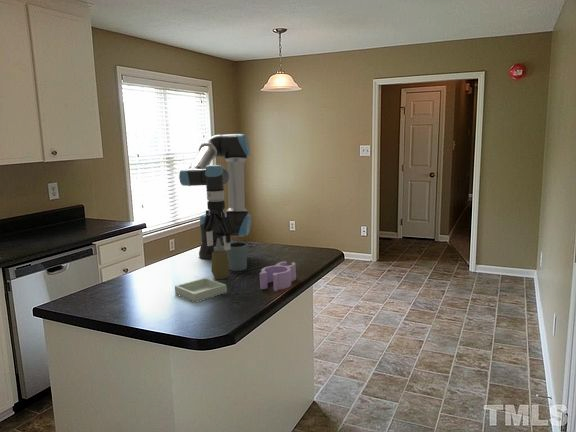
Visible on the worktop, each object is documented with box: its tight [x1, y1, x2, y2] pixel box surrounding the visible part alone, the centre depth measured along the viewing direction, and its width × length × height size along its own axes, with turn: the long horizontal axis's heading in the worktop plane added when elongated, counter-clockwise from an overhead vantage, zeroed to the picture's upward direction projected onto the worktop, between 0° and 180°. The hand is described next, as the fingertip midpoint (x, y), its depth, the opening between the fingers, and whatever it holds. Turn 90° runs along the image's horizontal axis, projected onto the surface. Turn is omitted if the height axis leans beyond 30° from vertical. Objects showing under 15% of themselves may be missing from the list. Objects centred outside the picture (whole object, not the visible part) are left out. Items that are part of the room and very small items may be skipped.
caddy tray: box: [174, 277, 228, 303], centre depth 188 cm, size 15×15×4 cm
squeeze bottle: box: [210, 239, 230, 280], centre depth 208 cm, size 8×8×18 cm
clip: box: [259, 261, 297, 292], centre depth 198 cm, size 20×12×7 cm, turn 152°
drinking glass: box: [227, 241, 248, 272], centre depth 222 cm, size 10×10×12 cm
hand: (218, 247), depth 207 cm, fingers open, 13 cm apart
